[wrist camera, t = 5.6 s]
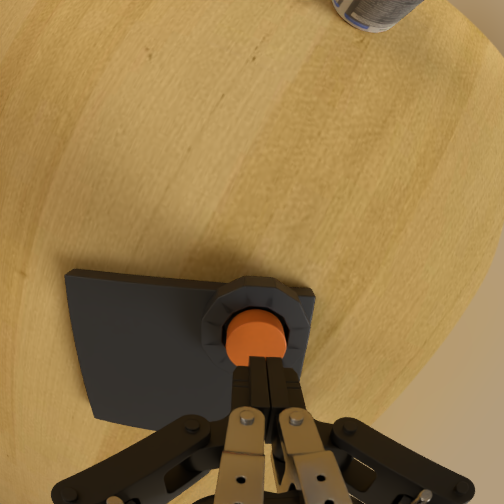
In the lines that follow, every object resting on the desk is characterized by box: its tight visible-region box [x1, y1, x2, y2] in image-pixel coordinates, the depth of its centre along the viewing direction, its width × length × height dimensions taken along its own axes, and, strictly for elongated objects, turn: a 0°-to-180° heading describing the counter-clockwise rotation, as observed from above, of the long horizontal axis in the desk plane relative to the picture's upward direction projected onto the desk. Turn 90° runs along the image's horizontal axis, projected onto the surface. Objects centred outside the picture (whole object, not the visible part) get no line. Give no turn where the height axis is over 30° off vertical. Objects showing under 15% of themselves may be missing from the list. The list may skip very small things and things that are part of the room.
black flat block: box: [65, 269, 316, 431], centre depth 19 cm, size 16×14×3 cm
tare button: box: [226, 309, 287, 366], centre depth 17 cm, size 3×3×2 cm
